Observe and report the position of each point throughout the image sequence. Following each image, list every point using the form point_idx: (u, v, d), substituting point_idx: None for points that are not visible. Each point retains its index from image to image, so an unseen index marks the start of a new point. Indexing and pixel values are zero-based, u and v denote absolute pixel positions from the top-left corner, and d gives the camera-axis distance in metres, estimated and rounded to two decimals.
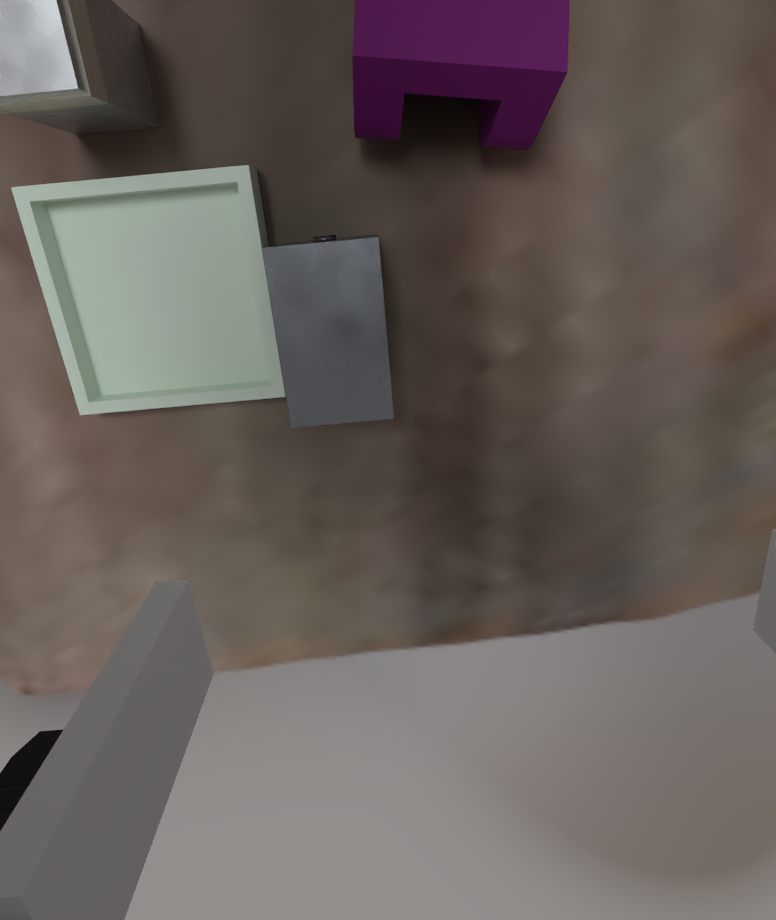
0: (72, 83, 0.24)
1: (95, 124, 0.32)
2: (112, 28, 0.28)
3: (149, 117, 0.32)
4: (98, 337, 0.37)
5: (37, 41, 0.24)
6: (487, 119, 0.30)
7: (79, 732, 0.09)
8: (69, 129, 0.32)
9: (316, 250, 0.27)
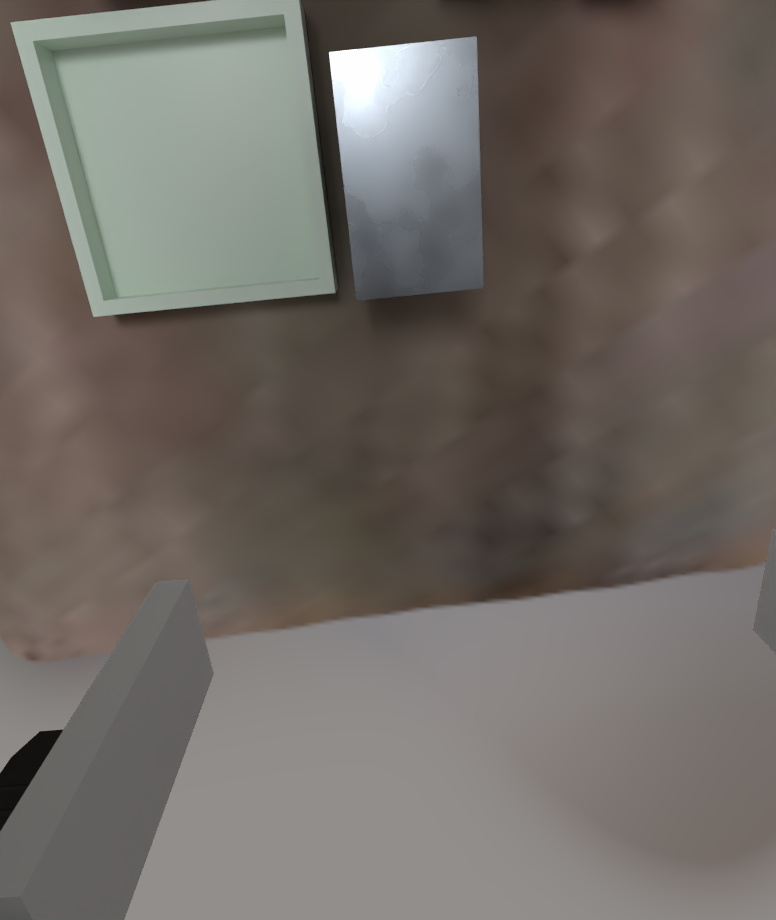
0: None
1: None
2: None
3: None
4: (115, 224, 0.32)
5: None
6: None
7: (79, 732, 0.09)
8: None
9: (397, 55, 0.21)
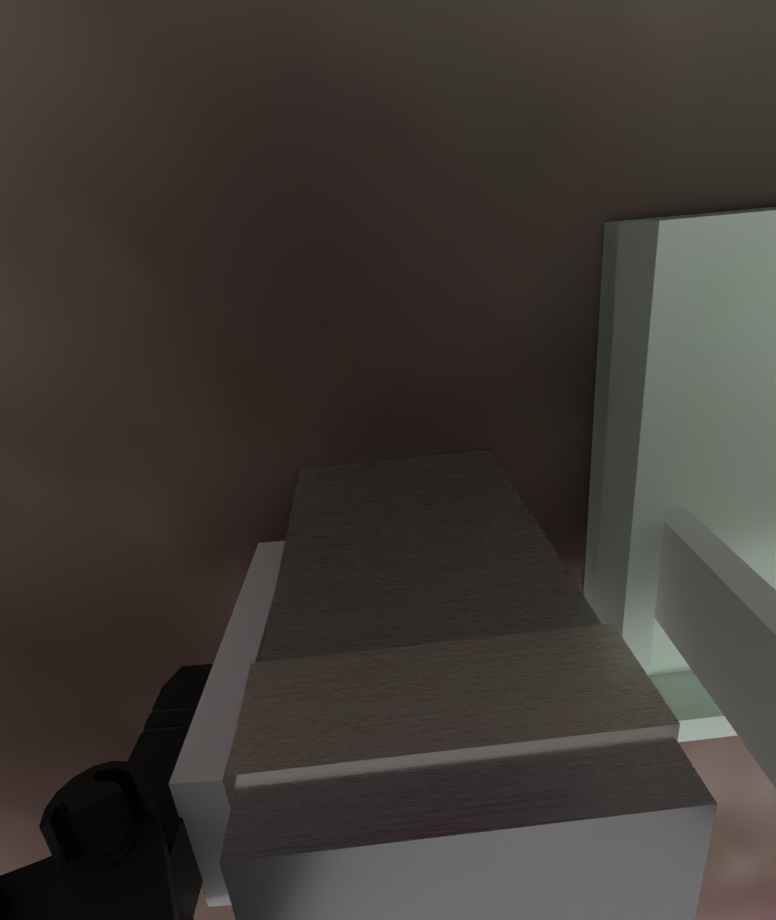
0: (695, 819, 0.06)
1: None
2: (351, 547, 0.11)
3: (495, 474, 0.14)
4: None
5: (541, 900, 0.06)
6: None
7: (230, 661, 0.10)
8: None
9: None
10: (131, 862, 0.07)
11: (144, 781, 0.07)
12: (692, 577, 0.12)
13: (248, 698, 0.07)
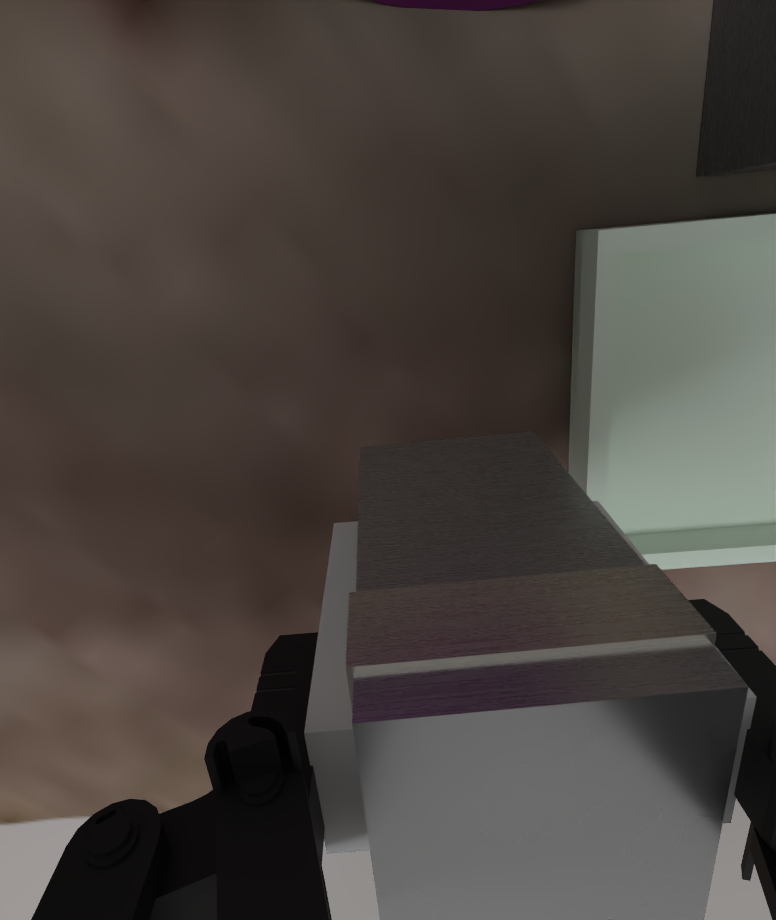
0: (731, 700, 0.07)
1: None
2: (418, 508, 0.13)
3: (540, 450, 0.15)
4: None
5: (603, 767, 0.08)
6: None
7: (334, 627, 0.11)
8: None
9: None
10: (279, 805, 0.08)
11: (294, 733, 0.08)
12: None
13: (352, 616, 0.09)
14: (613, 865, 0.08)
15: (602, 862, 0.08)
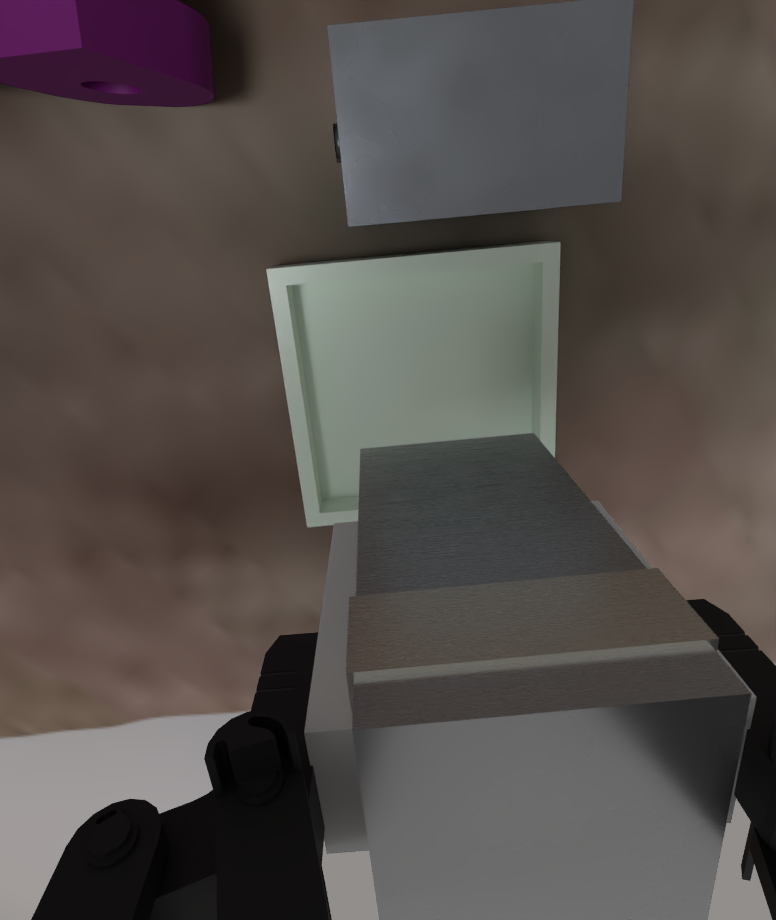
0: (733, 706, 0.07)
1: None
2: (419, 511, 0.12)
3: (541, 453, 0.15)
4: None
5: (604, 775, 0.08)
6: None
7: (334, 627, 0.11)
8: None
9: (349, 139, 0.18)
10: (279, 805, 0.08)
11: (294, 732, 0.08)
12: None
13: (352, 621, 0.09)
14: (615, 872, 0.08)
15: (604, 869, 0.08)
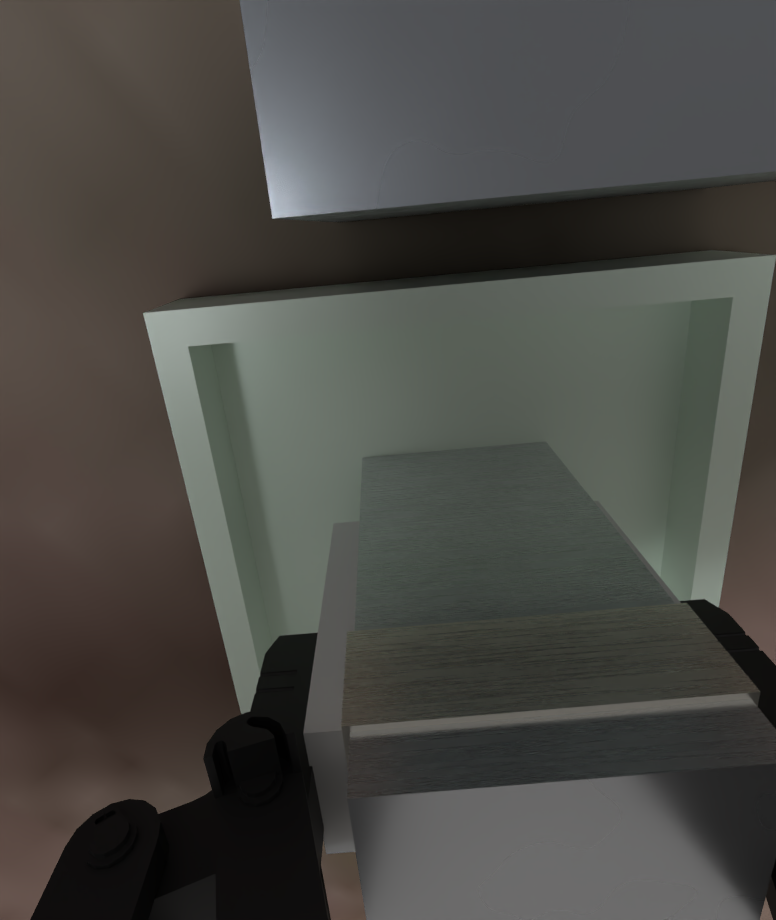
0: None
1: None
2: (424, 530, 0.12)
3: (554, 465, 0.14)
4: None
5: (631, 845, 0.07)
6: None
7: (334, 627, 0.11)
8: None
9: None
10: (278, 805, 0.08)
11: (293, 733, 0.08)
12: None
13: (350, 661, 0.08)
14: None
15: None
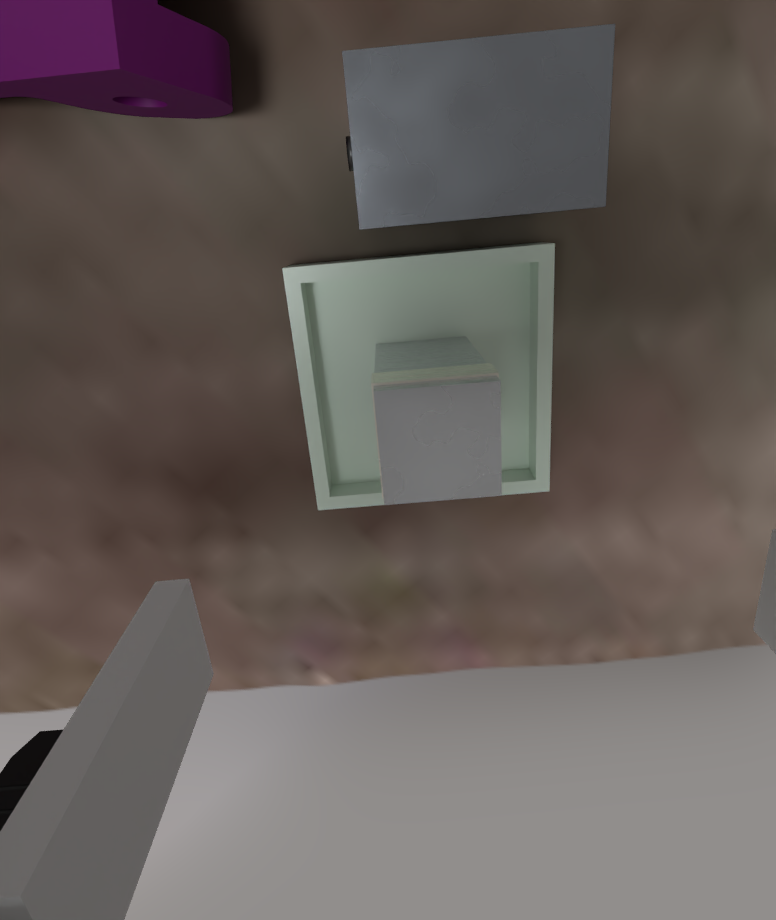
0: (495, 385, 0.22)
1: None
2: (402, 357, 0.28)
3: (465, 341, 0.30)
4: None
5: (456, 413, 0.23)
6: None
7: (79, 732, 0.09)
8: None
9: (361, 151, 0.20)
10: None
11: None
12: None
13: (373, 376, 0.24)
14: (464, 458, 0.24)
15: (460, 457, 0.24)
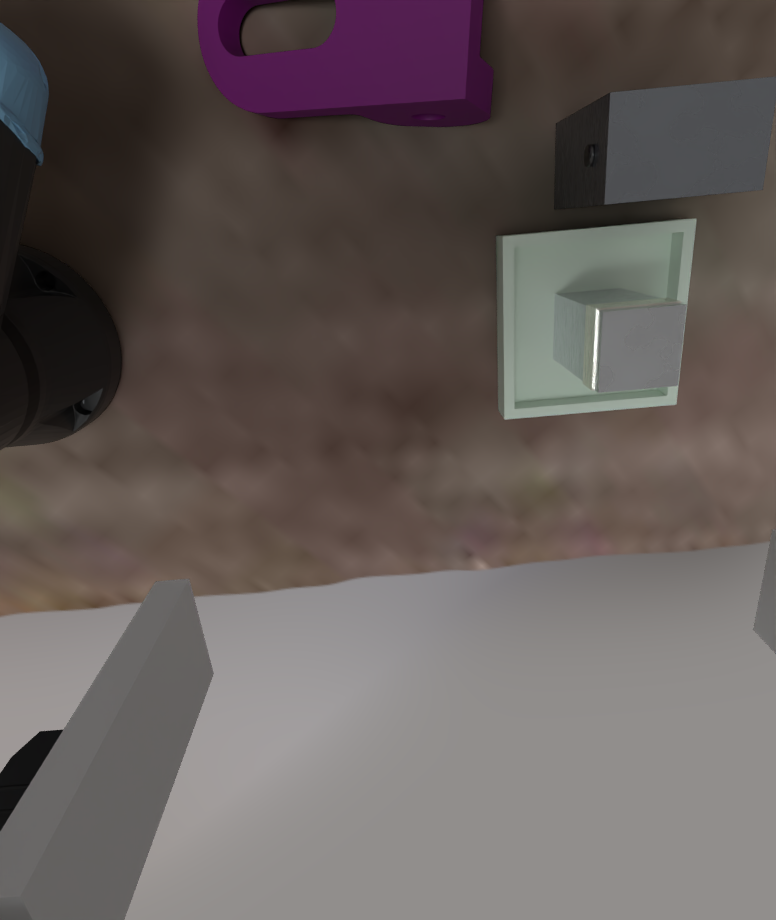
0: (683, 308, 0.34)
1: None
2: (591, 298, 0.40)
3: (625, 290, 0.42)
4: None
5: (655, 327, 0.35)
6: None
7: (79, 732, 0.09)
8: None
9: (613, 154, 0.32)
10: None
11: None
12: None
13: (590, 306, 0.36)
14: (656, 359, 0.35)
15: (653, 358, 0.35)
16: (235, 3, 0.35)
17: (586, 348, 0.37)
